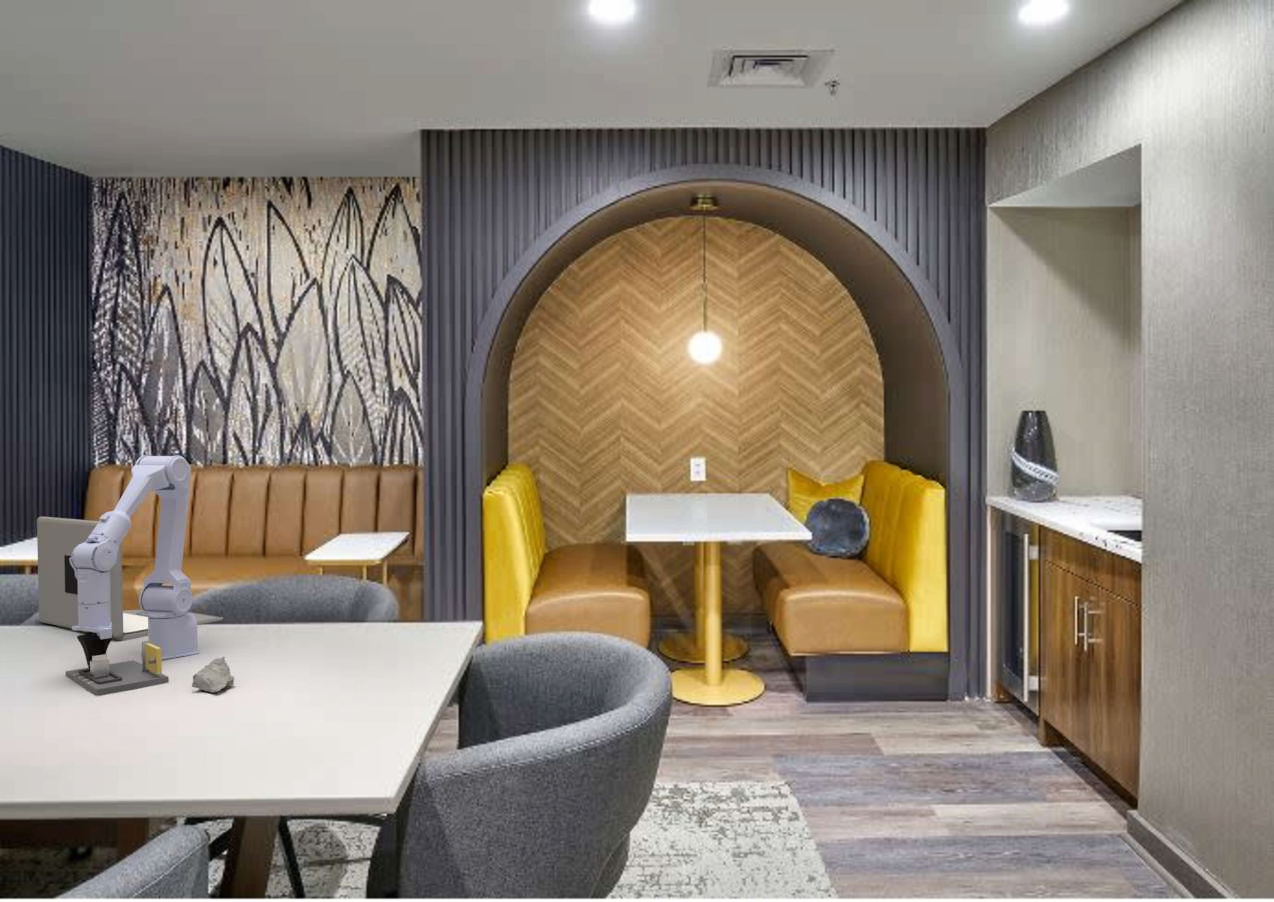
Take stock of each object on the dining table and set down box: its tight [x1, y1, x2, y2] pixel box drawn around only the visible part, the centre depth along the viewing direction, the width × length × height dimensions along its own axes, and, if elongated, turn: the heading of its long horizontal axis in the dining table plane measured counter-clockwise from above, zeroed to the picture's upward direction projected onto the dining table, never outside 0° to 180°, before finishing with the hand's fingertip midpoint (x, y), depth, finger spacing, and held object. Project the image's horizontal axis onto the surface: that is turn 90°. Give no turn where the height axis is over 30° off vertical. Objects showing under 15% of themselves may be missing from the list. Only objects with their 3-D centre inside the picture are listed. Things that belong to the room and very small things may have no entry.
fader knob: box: [90, 652, 110, 678], centre depth 196 cm, size 3×2×4 cm
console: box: [65, 640, 170, 697], centre depth 198 cm, size 13×20×7 cm, turn 45°
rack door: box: [145, 643, 163, 674], centre depth 197 cm, size 2×7×5 cm, turn 45°
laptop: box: [36, 516, 224, 642], centre depth 249 cm, size 36×28×29 cm
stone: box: [191, 656, 235, 693], centre depth 193 cm, size 6×12×4 cm, turn 177°
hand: (95, 669), depth 198 cm, fingers closed
